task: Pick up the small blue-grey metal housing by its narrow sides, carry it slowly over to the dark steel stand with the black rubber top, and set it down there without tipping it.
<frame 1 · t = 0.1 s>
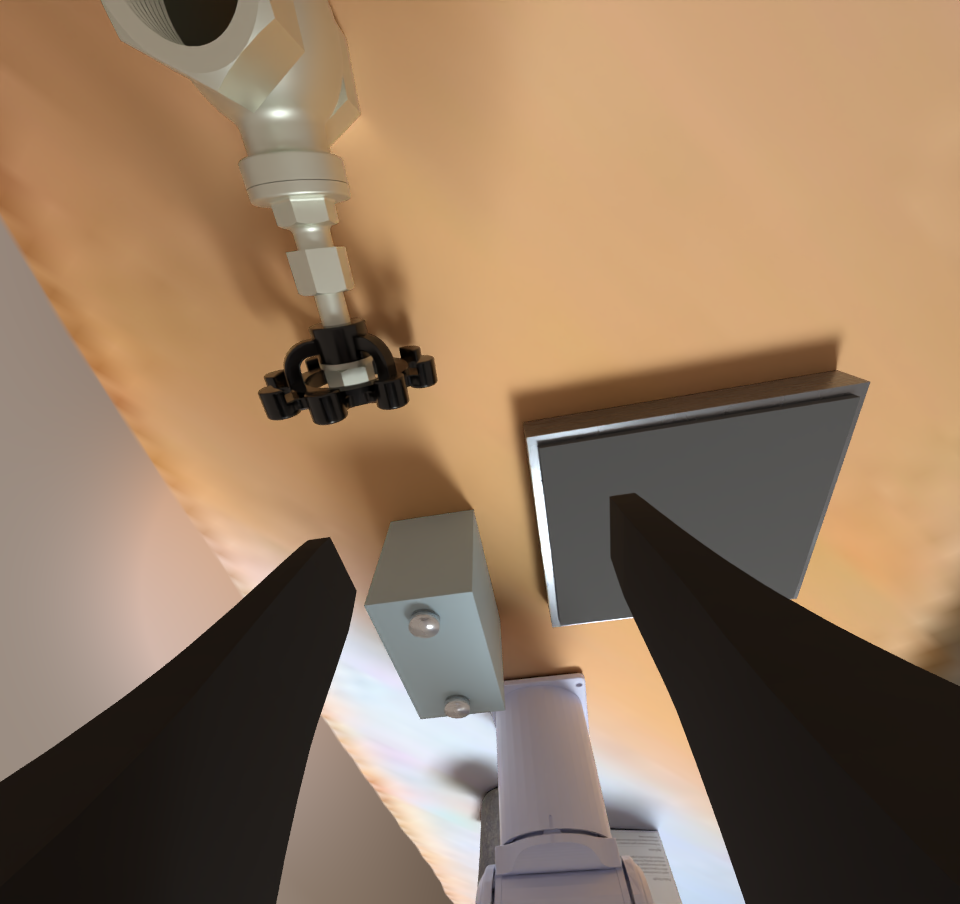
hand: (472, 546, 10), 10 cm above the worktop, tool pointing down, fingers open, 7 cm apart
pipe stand: (666, 509, 22), on the worktop
skincare box: (620, 835, 47), on the worktop
pipe: (503, 800, 42), on the worktop
valve: (341, 218, 15), on the worktop
housing: (450, 573, 24), on the worktop
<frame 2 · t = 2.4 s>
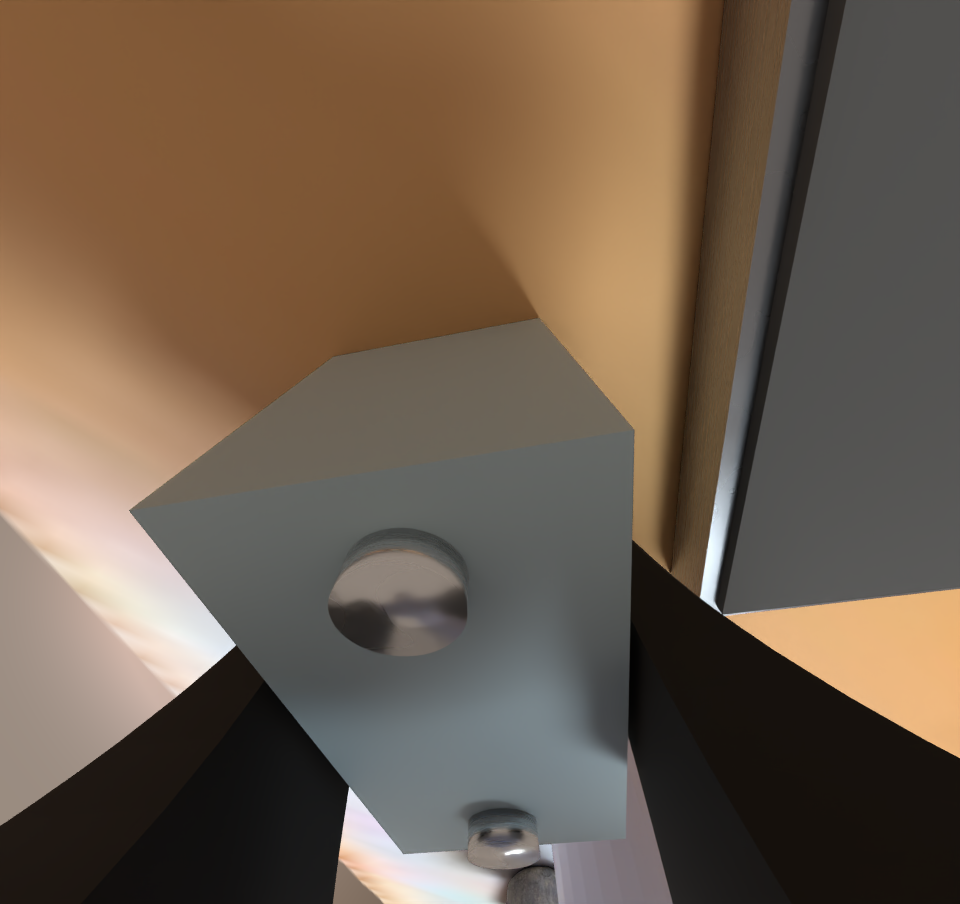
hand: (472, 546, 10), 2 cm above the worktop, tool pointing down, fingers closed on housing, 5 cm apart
pipe: (535, 879, 29), on the worktop
housing: (473, 505, 11), on the worktop, touching gripper
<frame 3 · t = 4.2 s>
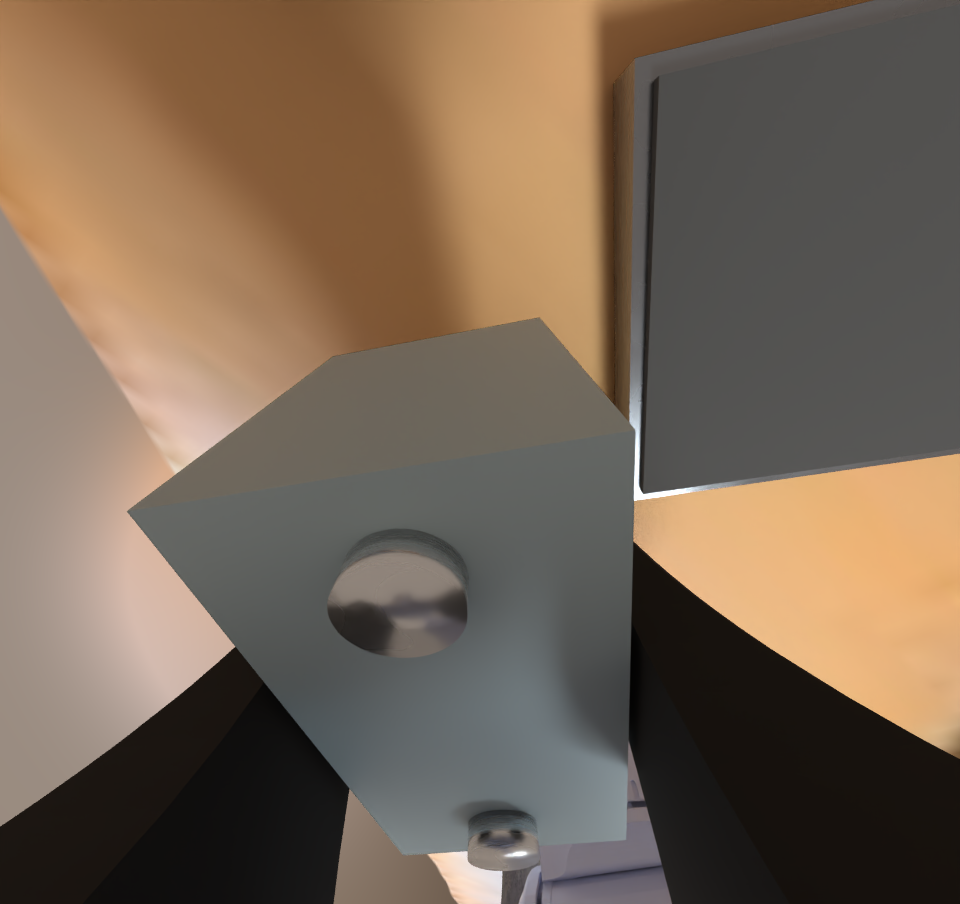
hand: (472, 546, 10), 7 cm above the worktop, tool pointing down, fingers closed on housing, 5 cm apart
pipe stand: (823, 290, 14), on the worktop
pipe: (527, 785, 34), on the worktop
housing: (473, 505, 11), point 6 cm above the worktop, touching gripper
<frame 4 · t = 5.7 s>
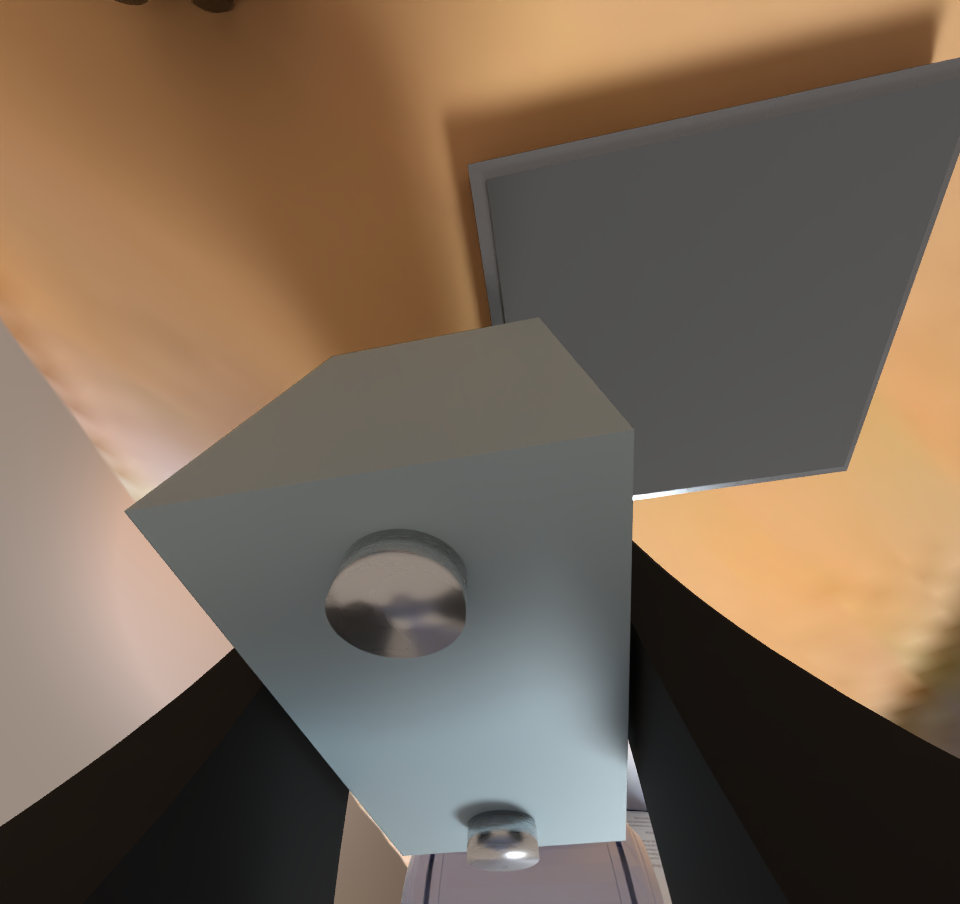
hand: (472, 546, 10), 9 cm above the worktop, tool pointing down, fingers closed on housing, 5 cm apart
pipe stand: (673, 337, 16), on the worktop
skincare box: (612, 817, 41), on the worktop
housing: (472, 505, 11), point 7 cm above the worktop, touching gripper
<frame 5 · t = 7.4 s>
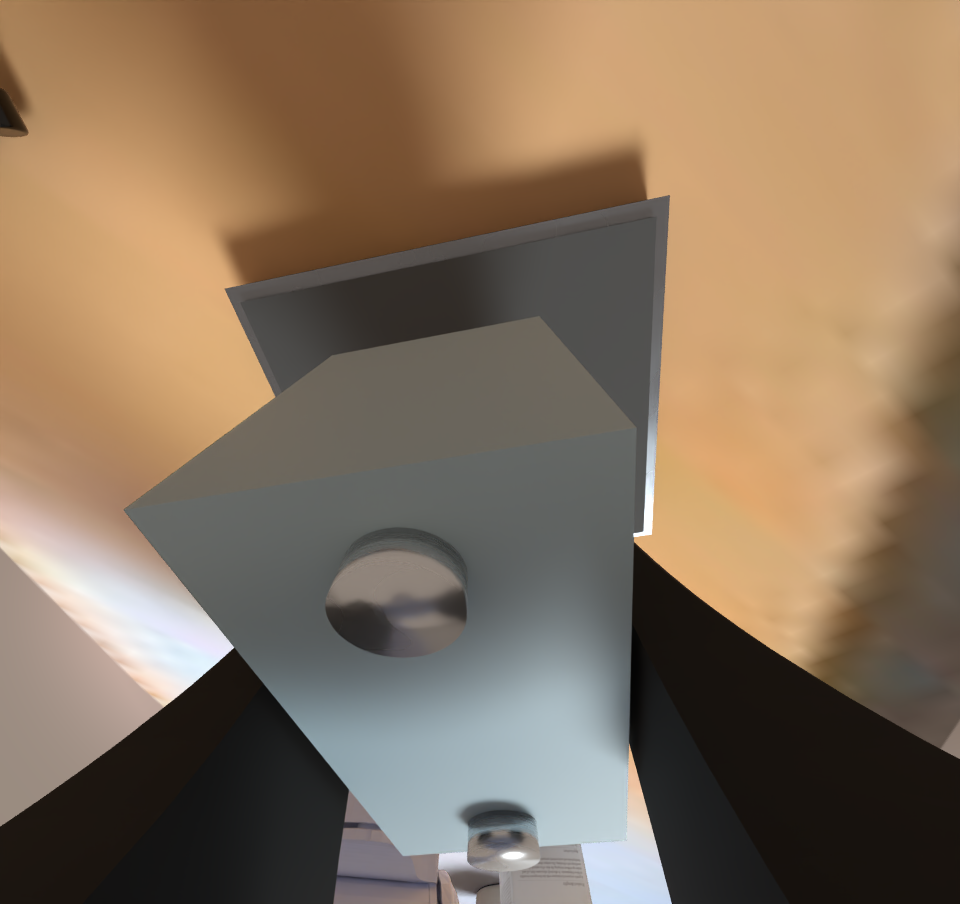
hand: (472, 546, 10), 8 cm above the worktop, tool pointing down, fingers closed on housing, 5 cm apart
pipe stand: (475, 416, 17), on the worktop
skincare box: (538, 834, 42), on the worktop
coffee cup: (502, 888, 52), on the worktop
housing: (473, 505, 11), point 7 cm above the worktop, touching gripper
when the fingers open (5 cm above the worktop, at t = 9.1 s): housing stays where it is, resting on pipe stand.
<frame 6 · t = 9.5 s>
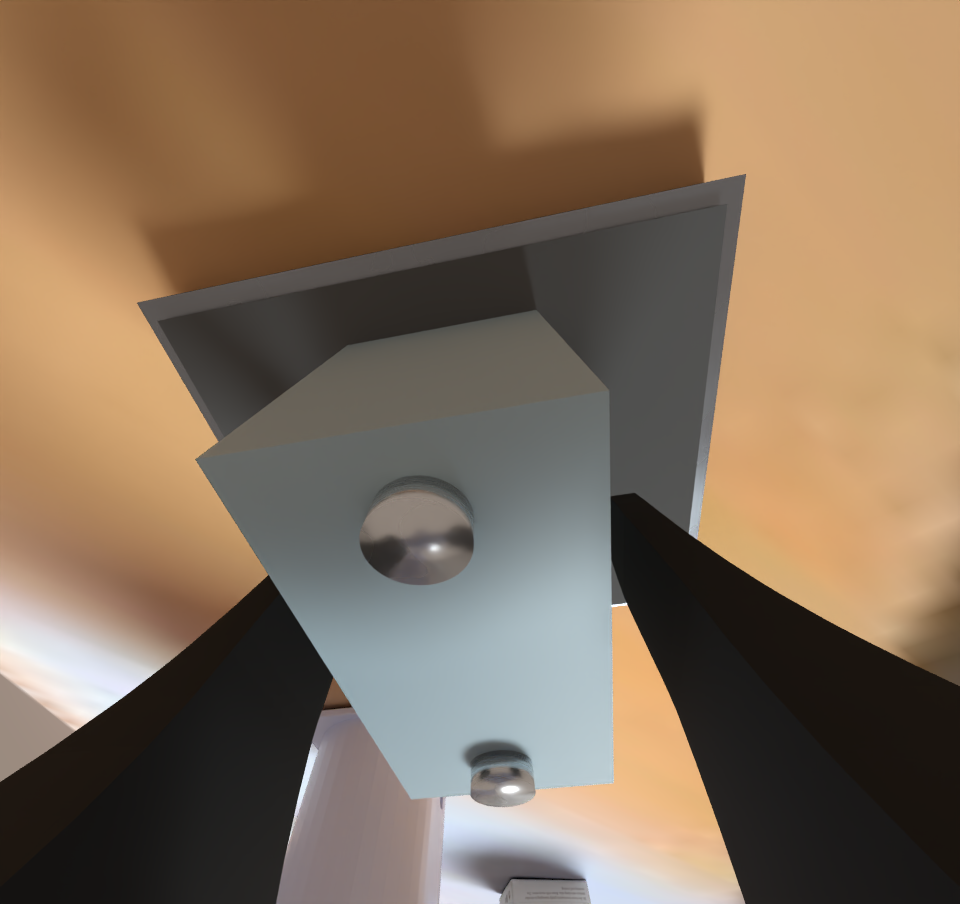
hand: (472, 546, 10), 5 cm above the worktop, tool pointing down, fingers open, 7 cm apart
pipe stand: (474, 456, 14), on the worktop
skincare box: (543, 883, 39), on the worktop
housing: (475, 486, 12), point 2 cm above the worktop, touching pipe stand
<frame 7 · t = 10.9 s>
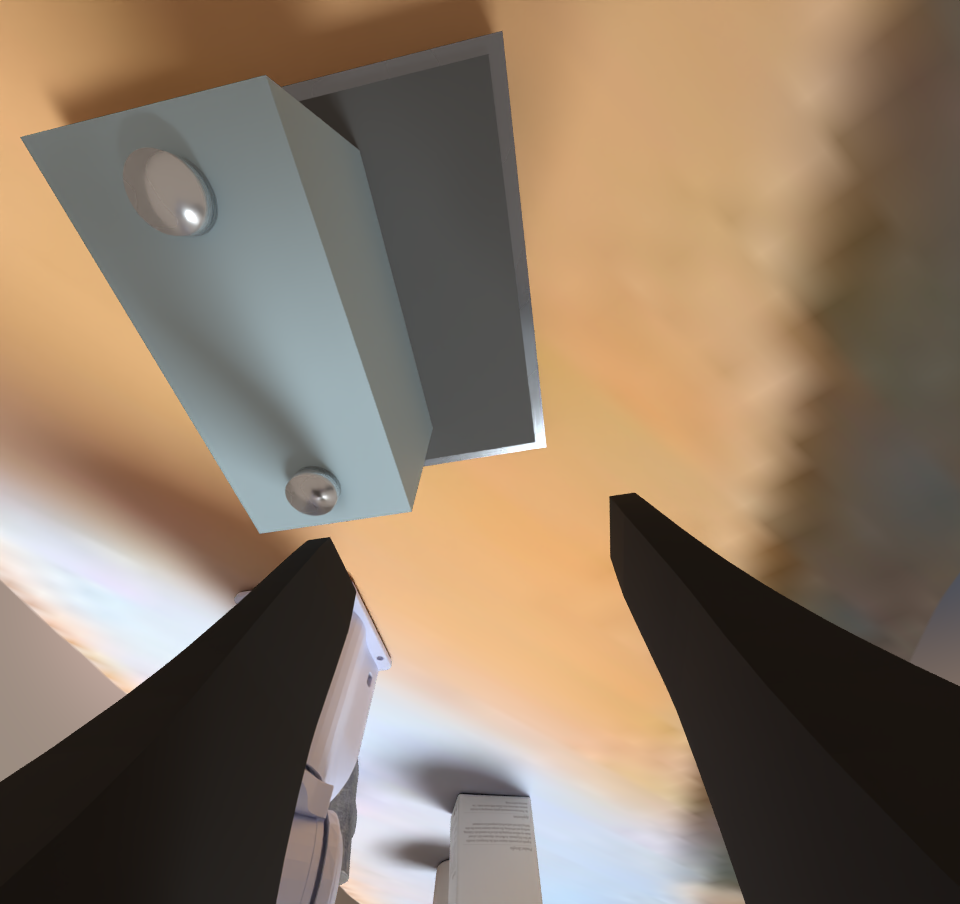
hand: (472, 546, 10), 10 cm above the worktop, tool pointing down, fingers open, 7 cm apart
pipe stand: (354, 317, 16), on the worktop
skincare box: (491, 802, 41), on the worktop
coffee cup: (463, 863, 51), on the worktop
pipe: (344, 767, 37), on the worktop
housing: (340, 324, 15), point 2 cm above the worktop, touching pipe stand
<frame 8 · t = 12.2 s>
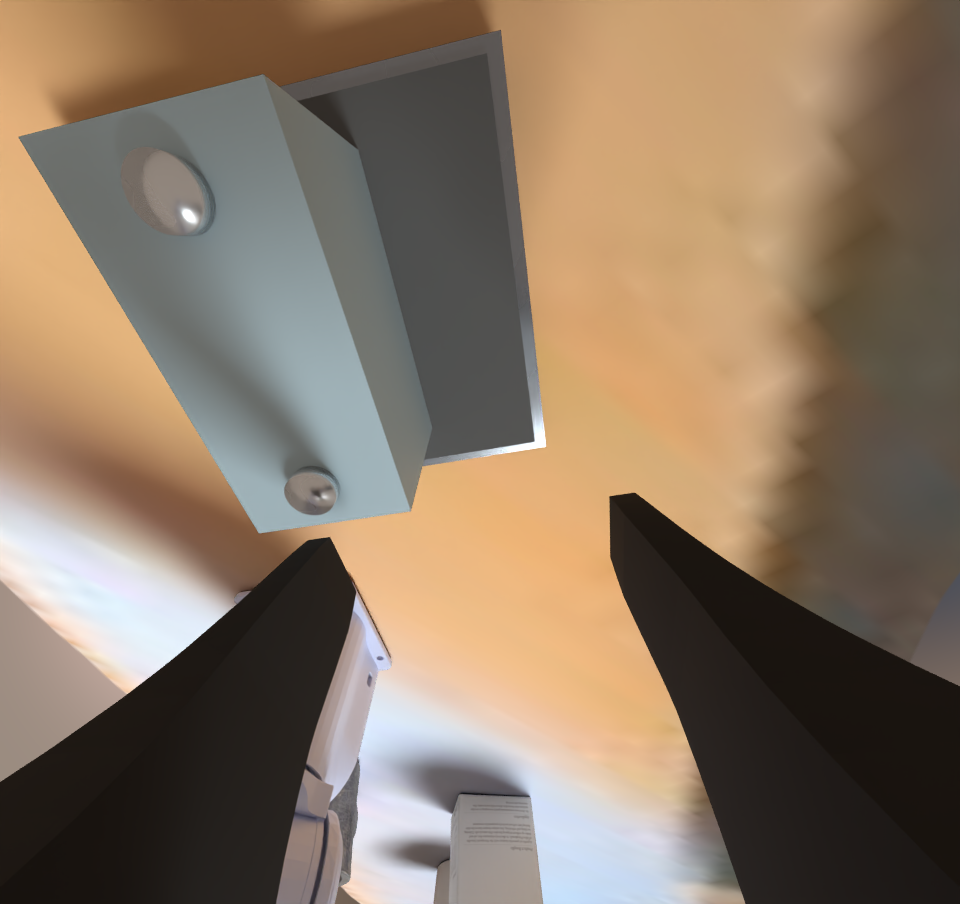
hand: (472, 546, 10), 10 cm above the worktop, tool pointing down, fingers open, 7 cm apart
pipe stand: (353, 316, 16), on the worktop
skincare box: (491, 802, 41), on the worktop
coffee cup: (464, 863, 51), on the worktop
pipe: (345, 768, 38), on the worktop
housing: (339, 324, 15), point 2 cm above the worktop, touching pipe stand
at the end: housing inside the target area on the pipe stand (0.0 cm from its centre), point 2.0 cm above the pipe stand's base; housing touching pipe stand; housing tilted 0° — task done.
